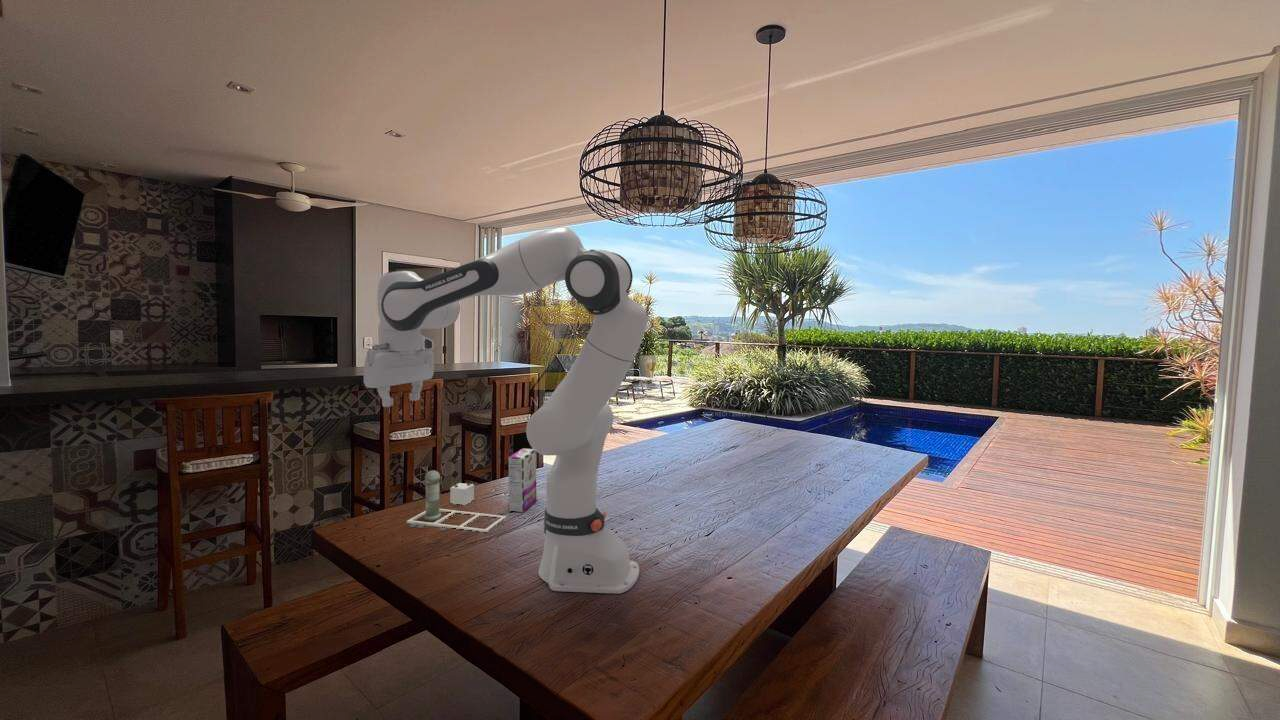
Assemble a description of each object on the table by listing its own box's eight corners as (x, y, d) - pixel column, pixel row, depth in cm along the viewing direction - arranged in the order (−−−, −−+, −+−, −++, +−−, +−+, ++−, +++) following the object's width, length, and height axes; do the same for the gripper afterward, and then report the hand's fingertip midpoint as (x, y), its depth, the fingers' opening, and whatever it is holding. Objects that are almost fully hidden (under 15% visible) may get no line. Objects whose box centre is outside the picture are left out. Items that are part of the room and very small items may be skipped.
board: (506, 518, 153) (506, 516, 153) (481, 536, 140) (481, 534, 140) (431, 509, 159) (431, 507, 159) (400, 526, 146) (400, 524, 146)
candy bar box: (521, 499, 169) (521, 447, 168) (536, 500, 168) (537, 448, 167) (507, 511, 158) (507, 456, 157) (523, 513, 157) (523, 457, 156)
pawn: (444, 515, 154) (444, 469, 153) (434, 521, 150) (434, 473, 149) (430, 514, 155) (430, 467, 154) (420, 519, 151) (420, 471, 150)
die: (474, 500, 168) (474, 482, 167) (465, 505, 163) (465, 487, 162) (459, 498, 169) (459, 481, 168) (450, 503, 164) (450, 485, 164)
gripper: (380, 345, 113) (382, 411, 114) (438, 341, 132) (439, 397, 133) (354, 344, 114) (356, 409, 115) (415, 341, 134) (416, 396, 135)
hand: (401, 403), depth 124 cm, fingers open, 8 cm apart
